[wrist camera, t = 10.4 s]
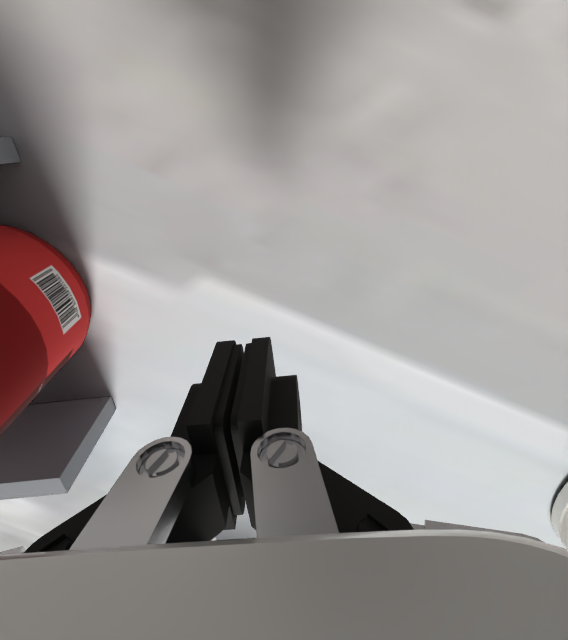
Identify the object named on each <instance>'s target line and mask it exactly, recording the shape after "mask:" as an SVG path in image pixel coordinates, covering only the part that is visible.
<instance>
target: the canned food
mask: <svg viewBox="0 0 568 640" xmlns="http://www.w3.org/2000/svg"><path fill="white" fill-rule="evenodd" d="M90 317H91V307H90V300H89V296H88V292H87V289H86V287H85V285H84V283H83V281H82V279H81V277H80V275H79V274H78V273H77V271H76V270H75V268H74V267H73V266H72V264H71V263H70V262H69V261H68V260H67V259H66V258H65V257H64V256H63V255H62V254H61V253H60V252H59V251H58V250H56V249H55V248H54V247H52V246H51V245H50V244H48V243H47V242H46V241H44V240H42V239H40V238H38V237H37V236H35V235H33V234H31V233H29V232H26V231H23V230H21V229H18V228H15V227H11V226H5V225H0V435H1V434H2V433H3V432H4V431H5V430H6V429H7V427H8V426H9V425H10V424H11V423H12V422H13V421H14V420H15V419H16V417H17V416H18V415H19V414H20V413H21V412H22V411H23V410H24V409H25V408H26V406H27V405H28V404H29V403H30V402H31V401H32V400H33V399H34V398H35V396H36V395H37V394H38V393H39V392H40V391H41V390H42V389H43V388H44V387H45V385H46V384H47V383H48V382H49V381H50V380H51V379H52V378H53V377H54V375H55V374H56V373H57V372H58V371H59V370H60V369H61V368H62V367H63V366H64V364H65V363H66V362H67V361H68V360H69V359H70V358H71V357H72V356H73V354H74V353H75V352H76V351H77V350H78V349H79V348H80V346H81V345H82V343H83V341H84V339H85V337H86V335H87V331H88V327H89V323H90Z"/></svg>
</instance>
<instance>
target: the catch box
mask: <svg viewBox="0 0 568 640" xmlns="http://www.w3.org/2000/svg"><path fill="white" fill-rule="evenodd" d="M16 162H21V160H20V158H19V155H18V152H17V150H16V147H15V145H14V142H13V139H12V137H0V164H8V163H16ZM115 410H116V408H115V405H114V403H113V400H112V397H111V396H108V397H99V398H89V399H80V400H70V401H61V402H51V403H42V404H32V405H27V406H26V408H25V409H24V410H23V411H22V412H21V413H20V414H19V415H18V416H17V417H16V419H15V420H14V421H13V422H12V423H11V424H10V425H9V426H8V427H7V429H6V430H5V431H4V432H3V433H2V434H1V435H0V500H4V499H14V498H24V497H34V496H44V495H54V494H64V493H68V491H69V489H70V488H71V486H72V484H73V482H74V481H75V479H76V477H77V476H78V474H79V472H80V470H81V469H82V467H83V465H84V464H85V462H86V460H87V458H88V457H89V455H90V453H91V452H92V450H93V448H94V446H95V445H96V443H97V441H98V440H99V438H100V436H101V434H102V433H103V431H104V429H105V428H106V426H107V424H108V422H109V421H110V419H111V417H112V416H113V414H114V412H115Z"/></svg>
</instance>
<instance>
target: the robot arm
mask: <svg viewBox="0 0 568 640" xmlns="http://www.w3.org/2000/svg"><path fill="white" fill-rule="evenodd" d="M245 500H246V505H247V509H248V513H249V517H250V522H251V526H252V527H253V528H254V529H255V530H256V531H257V538H247V539H230V540H216V536H217V535H218V534H219V533H220V532H221V531H223V530H229V529H235V526H236V518H237V515H243V513H244V508H245ZM551 520H552V527H553V529H554V531H555V533H556V535H557V536H558V538H559V539H560V540H561V542H562V543H563V544H564V545H565V547H566V548H567V549H568V482H567V483H566V484H565V485H564V487H563V488H562V490H561V491H560V492H559V494H558V496H557V498H556V501H555V503H554V505H553V509H552V515H551ZM567 549H564V548H562V547H558V546H554V545H551V544H547V543H545V542H543V541H541V540H539V539H538V538H535V537H531V536H528V535H524V534H519V533H512V532H505V531H499V530H492V529H485V528H478V527H471V526H464V525H457V524H450V523H443V522H436V521H429V520H425V524H424V525H418V524H411V523H409V521H408V520H407V519H406V518H405V517H403V516H402V515H401V514H400V513H399V512H397V511H396V510H394V509H393V508H391V507H389V506H388V505H386V504H385V503H383V502H382V501H380V500H378V499H377V498H375V497H374V496H372V495H371V494H369V493H367V492H366V491H364V490H363V489H361V488H360V487H358V486H357V485H355V484H353V483H352V482H350V481H349V480H347V479H346V478H344V477H342V476H341V475H339V474H338V473H336V472H335V471H333V470H331V469H330V468H328V467H327V466H325V465H324V464H322V463H320V462H319V461H317V457H316V454H315V451H314V447H313V444H312V442H311V440H310V438H309V437H308V436H307V435H306V434H305V433H303V432H302V424H301V410H300V399H299V390H298V381H297V375H291V376H280V377H276V374H275V367H274V359H273V352H272V345H271V339H270V337H265V338H254V339H252V343H249V344H246V347H245V352H243V347H242V344H238V345H236V342H235V340H233V341H222V342H217V343H216V345H215V348H214V351H213V354H212V356H211V359H210V362H209V364H208V367H207V370H206V373H205V375H204V378H203V381H202V383H200V384H193V385H192V386H191V388H190V390H189V393H188V395H187V398H186V400H185V403H184V405H183V408H182V410H181V412H180V415H179V417H178V420H177V422H176V425H175V427H174V430H173V432H172V434H171V437H165V438H161V439H158V440H155V441H153V442H151V443H149V444H147V445H145V446H144V447H143V448H141V449H140V450H139V451H138V452H137V453H136V454H135V455H134V456H133V458H132V459H131V461H130V462H129V463H128V465H127V466H126V468H125V469H124V471H123V472H122V474H121V475H120V476H119V478H118V479H117V481H116V482H115V484H114V485H113V487H112V488H111V490H110V491H109V492H108V494H107V495H105V496H104V497H102V498H101V499H99V500H98V501H96V502H95V503H93V504H91V505H90V506H88V507H87V508H85V509H84V510H82V511H81V512H79V513H78V514H76V515H74V516H73V517H71V518H70V519H68V520H67V521H65V522H64V523H62V524H60V525H59V526H57V527H56V528H54V529H53V530H51V531H50V532H48V533H47V534H45V535H43V536H42V537H41V538H39V539H38V540H37V541H36V542H34V543H33V544H32V545H31V546H30V547H29V548H28V549H27V550H25V549H24V547H23V546H22V547H18V548H14V549H11V550H7V551H3V552H0V640H568V550H567Z"/></svg>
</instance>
